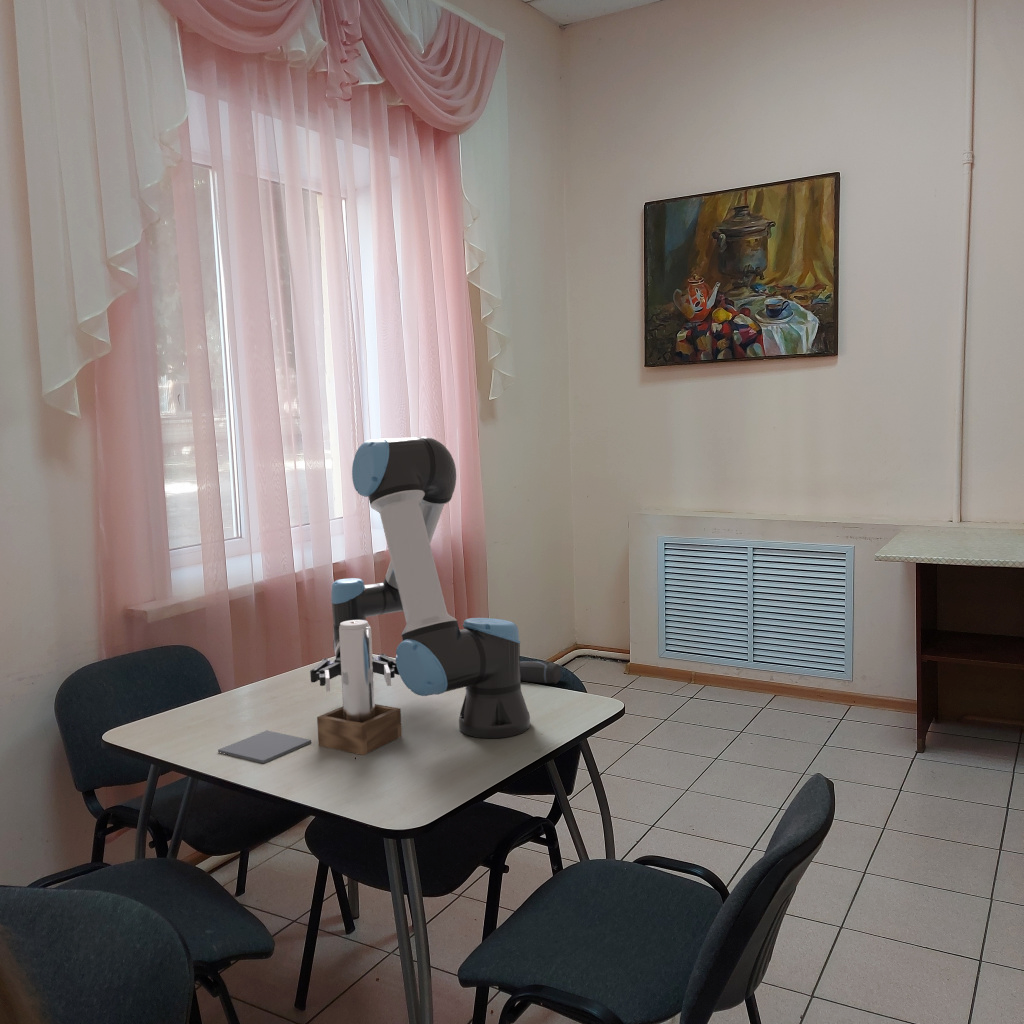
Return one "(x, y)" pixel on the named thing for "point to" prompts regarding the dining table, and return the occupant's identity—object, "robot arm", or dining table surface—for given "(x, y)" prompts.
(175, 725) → the dining table surface
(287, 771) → the dining table surface
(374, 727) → the square wooden frame
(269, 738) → the mat
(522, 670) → the power drill
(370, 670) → the shiny metal cylinder
